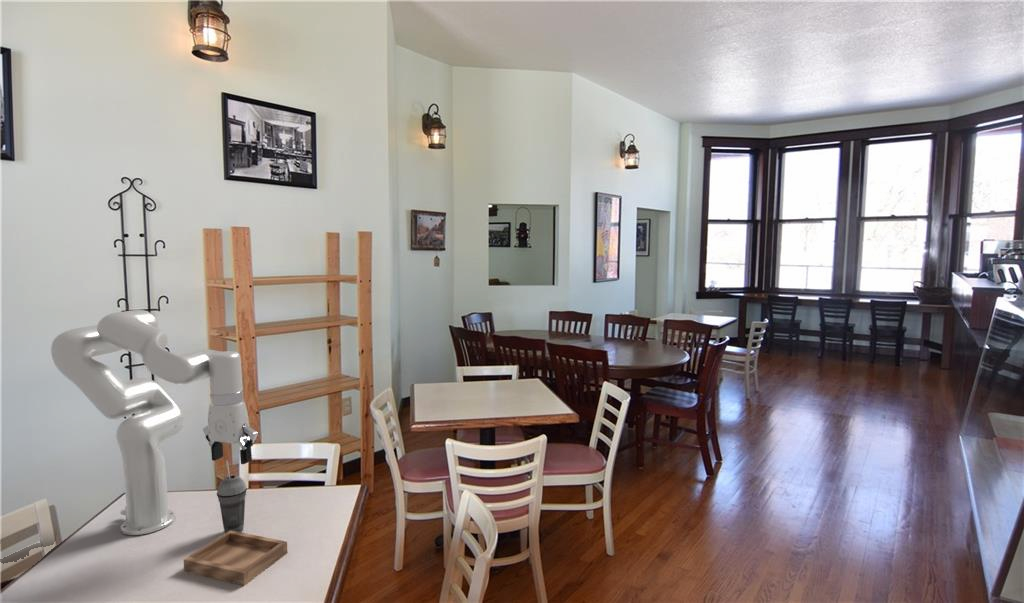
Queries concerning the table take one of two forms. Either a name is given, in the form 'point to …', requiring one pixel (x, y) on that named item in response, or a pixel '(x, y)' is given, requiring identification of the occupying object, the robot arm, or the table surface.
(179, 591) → the table surface
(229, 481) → the beverage cup
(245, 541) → the walnut tray
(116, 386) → the robot arm
